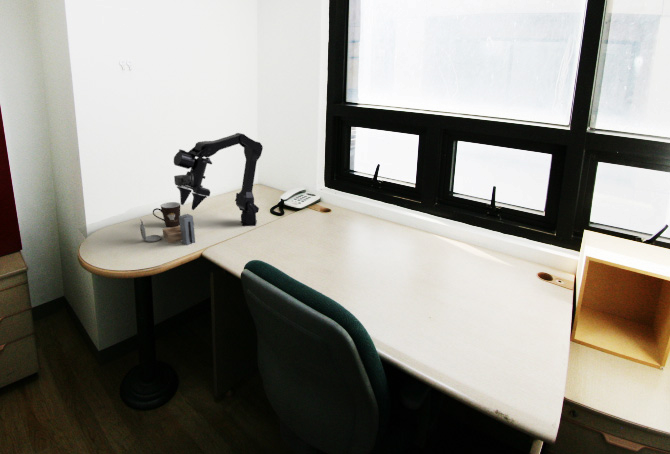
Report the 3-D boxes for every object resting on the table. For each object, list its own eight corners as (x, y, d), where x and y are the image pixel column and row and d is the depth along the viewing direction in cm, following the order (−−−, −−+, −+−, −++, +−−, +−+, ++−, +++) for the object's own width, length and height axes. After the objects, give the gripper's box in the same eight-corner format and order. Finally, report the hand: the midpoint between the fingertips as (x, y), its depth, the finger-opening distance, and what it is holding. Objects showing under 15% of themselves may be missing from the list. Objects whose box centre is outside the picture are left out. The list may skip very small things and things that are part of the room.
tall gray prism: (189, 240, 193) (187, 213, 189) (195, 242, 191) (192, 216, 187) (181, 242, 190) (178, 216, 186) (187, 245, 188) (184, 218, 184)
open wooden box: (185, 232, 202) (185, 224, 201) (192, 238, 195) (191, 231, 194) (163, 236, 197) (162, 229, 195) (169, 243, 190) (168, 235, 189)
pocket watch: (164, 238, 194) (161, 216, 191) (149, 245, 187) (146, 222, 184) (150, 235, 198) (147, 213, 194) (135, 241, 190) (132, 219, 187)
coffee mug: (185, 222, 214) (183, 202, 210) (177, 228, 206) (175, 208, 202) (162, 221, 215) (159, 201, 211) (153, 227, 207) (150, 206, 203)
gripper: (169, 163, 188) (159, 198, 189) (191, 170, 176) (180, 208, 176) (192, 169, 196) (182, 203, 197) (215, 177, 184) (205, 213, 185)
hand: (187, 207), depth 189 cm, fingers open, 9 cm apart
